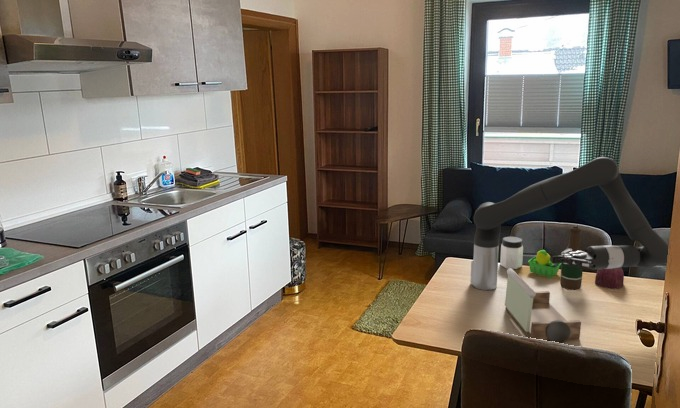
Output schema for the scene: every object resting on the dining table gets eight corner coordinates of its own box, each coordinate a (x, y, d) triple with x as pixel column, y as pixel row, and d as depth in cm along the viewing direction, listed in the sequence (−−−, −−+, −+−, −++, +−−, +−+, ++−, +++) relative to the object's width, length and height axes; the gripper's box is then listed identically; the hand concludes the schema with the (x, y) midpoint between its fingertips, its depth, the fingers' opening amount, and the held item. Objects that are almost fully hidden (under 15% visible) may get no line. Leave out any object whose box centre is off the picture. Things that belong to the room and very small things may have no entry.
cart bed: (545, 304, 181) (546, 286, 179) (582, 342, 155) (584, 321, 154) (503, 306, 181) (504, 288, 179) (534, 344, 155) (535, 323, 153)
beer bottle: (555, 283, 199) (560, 225, 193) (574, 282, 200) (579, 224, 194) (565, 291, 191) (571, 231, 186) (585, 290, 192) (591, 230, 186)
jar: (500, 268, 216) (501, 241, 213) (500, 261, 224) (501, 235, 221) (522, 270, 213) (524, 243, 210) (521, 263, 221) (523, 237, 218)
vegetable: (624, 296, 193) (638, 265, 186) (596, 291, 195) (608, 260, 187) (617, 280, 202) (630, 249, 194) (590, 275, 204) (602, 245, 196)
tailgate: (509, 305, 177) (513, 268, 173) (530, 331, 158) (536, 291, 155) (503, 305, 176) (507, 268, 173) (524, 331, 158) (529, 291, 155)
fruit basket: (561, 274, 208) (563, 248, 205) (552, 280, 202) (554, 254, 199) (534, 267, 216) (536, 242, 213) (524, 273, 210) (526, 247, 207)
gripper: (594, 239, 169) (543, 242, 168) (616, 253, 156) (561, 255, 155) (592, 260, 170) (541, 263, 170) (614, 275, 158) (559, 278, 157)
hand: (551, 259), depth 163 cm, fingers closed
